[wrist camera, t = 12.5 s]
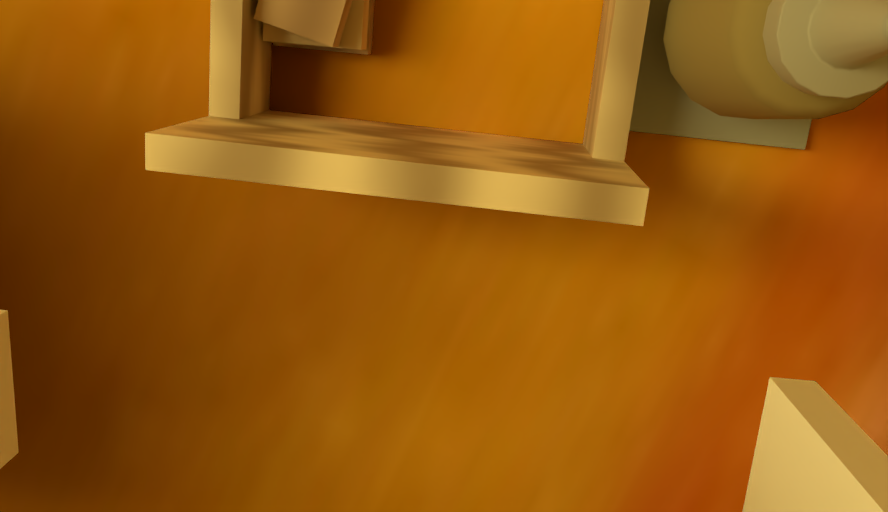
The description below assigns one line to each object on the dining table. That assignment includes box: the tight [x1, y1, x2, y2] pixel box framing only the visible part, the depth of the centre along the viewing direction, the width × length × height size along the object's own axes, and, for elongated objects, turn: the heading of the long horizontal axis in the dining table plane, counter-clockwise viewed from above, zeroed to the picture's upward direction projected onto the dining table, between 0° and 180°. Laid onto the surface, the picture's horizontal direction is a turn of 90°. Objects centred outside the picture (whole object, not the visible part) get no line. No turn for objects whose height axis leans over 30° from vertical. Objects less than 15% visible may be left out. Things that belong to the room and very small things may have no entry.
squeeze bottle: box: [663, 0, 888, 119], centre depth 31 cm, size 8×8×18 cm
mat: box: [629, 0, 812, 150], centre depth 40 cm, size 10×11×1 cm
